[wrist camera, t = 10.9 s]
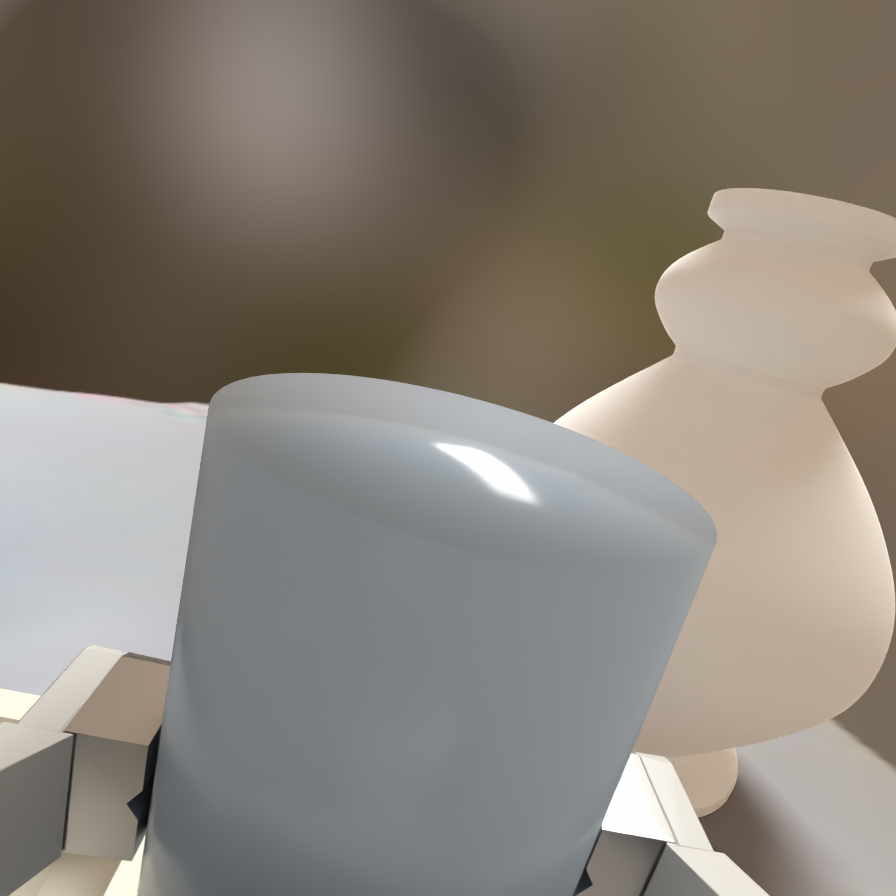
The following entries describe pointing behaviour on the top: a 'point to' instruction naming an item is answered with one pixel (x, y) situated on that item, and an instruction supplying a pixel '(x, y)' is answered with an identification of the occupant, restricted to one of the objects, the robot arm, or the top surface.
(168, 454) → the top surface
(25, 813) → the robot arm
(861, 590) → the decorative vase
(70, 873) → the compartment tray
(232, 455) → the grey cylinder
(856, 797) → the top surface
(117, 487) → the top surface
